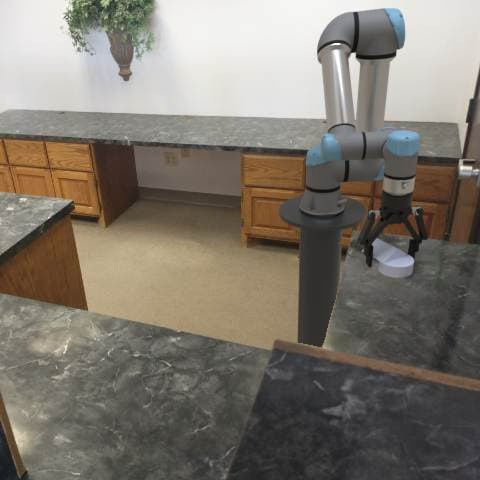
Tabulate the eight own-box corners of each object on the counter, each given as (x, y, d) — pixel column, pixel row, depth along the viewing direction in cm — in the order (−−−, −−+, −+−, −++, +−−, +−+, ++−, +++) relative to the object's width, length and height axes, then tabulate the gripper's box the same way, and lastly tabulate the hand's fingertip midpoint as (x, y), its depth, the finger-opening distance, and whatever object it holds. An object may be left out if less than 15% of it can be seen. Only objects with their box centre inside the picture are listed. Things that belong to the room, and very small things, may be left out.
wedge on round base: (360, 261, 149) (394, 281, 137) (362, 240, 146) (397, 259, 135) (384, 253, 151) (420, 272, 140) (387, 233, 148) (423, 250, 137)
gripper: (357, 199, 132) (351, 273, 141) (450, 192, 130) (437, 266, 140) (348, 189, 138) (343, 260, 148) (436, 182, 137) (425, 254, 146)
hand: (389, 263), depth 144 cm, fingers closed on wedge on round base, 11 cm apart
